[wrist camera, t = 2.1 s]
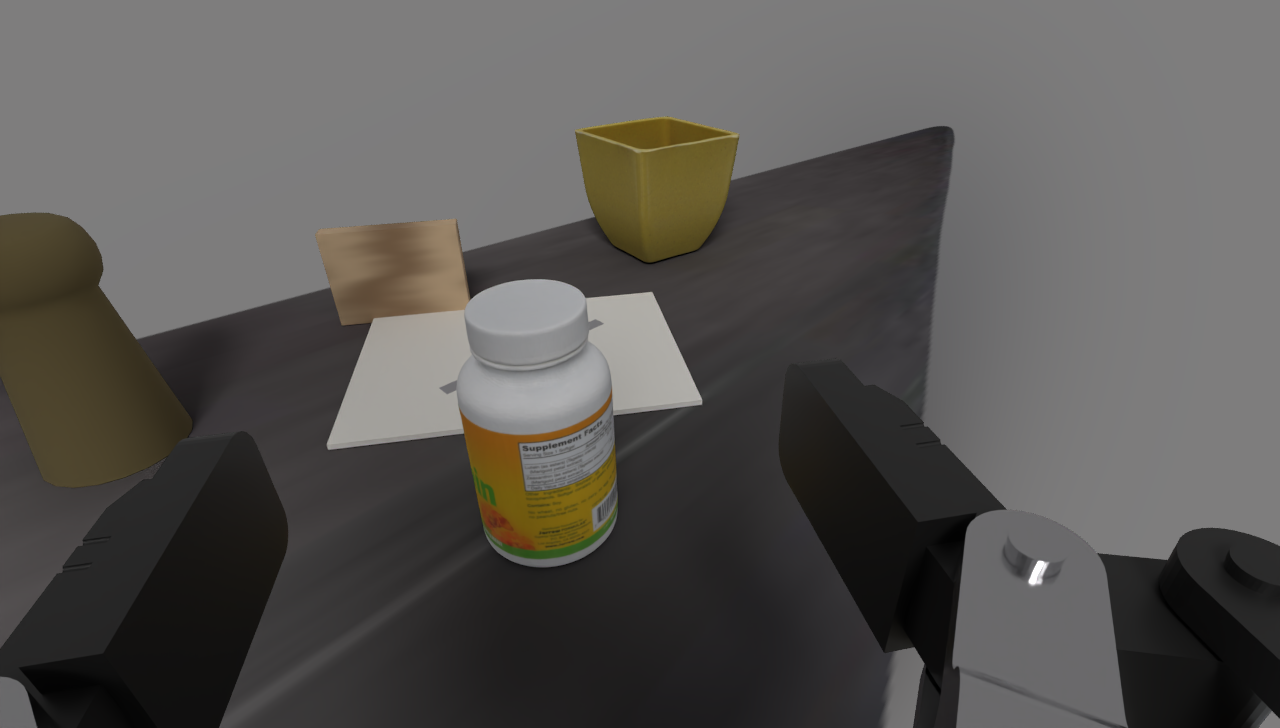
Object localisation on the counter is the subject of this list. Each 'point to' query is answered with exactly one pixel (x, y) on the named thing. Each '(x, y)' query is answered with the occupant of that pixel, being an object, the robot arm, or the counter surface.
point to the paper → (438, 348)
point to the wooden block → (394, 269)
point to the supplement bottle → (538, 423)
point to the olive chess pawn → (76, 360)
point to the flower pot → (657, 182)
